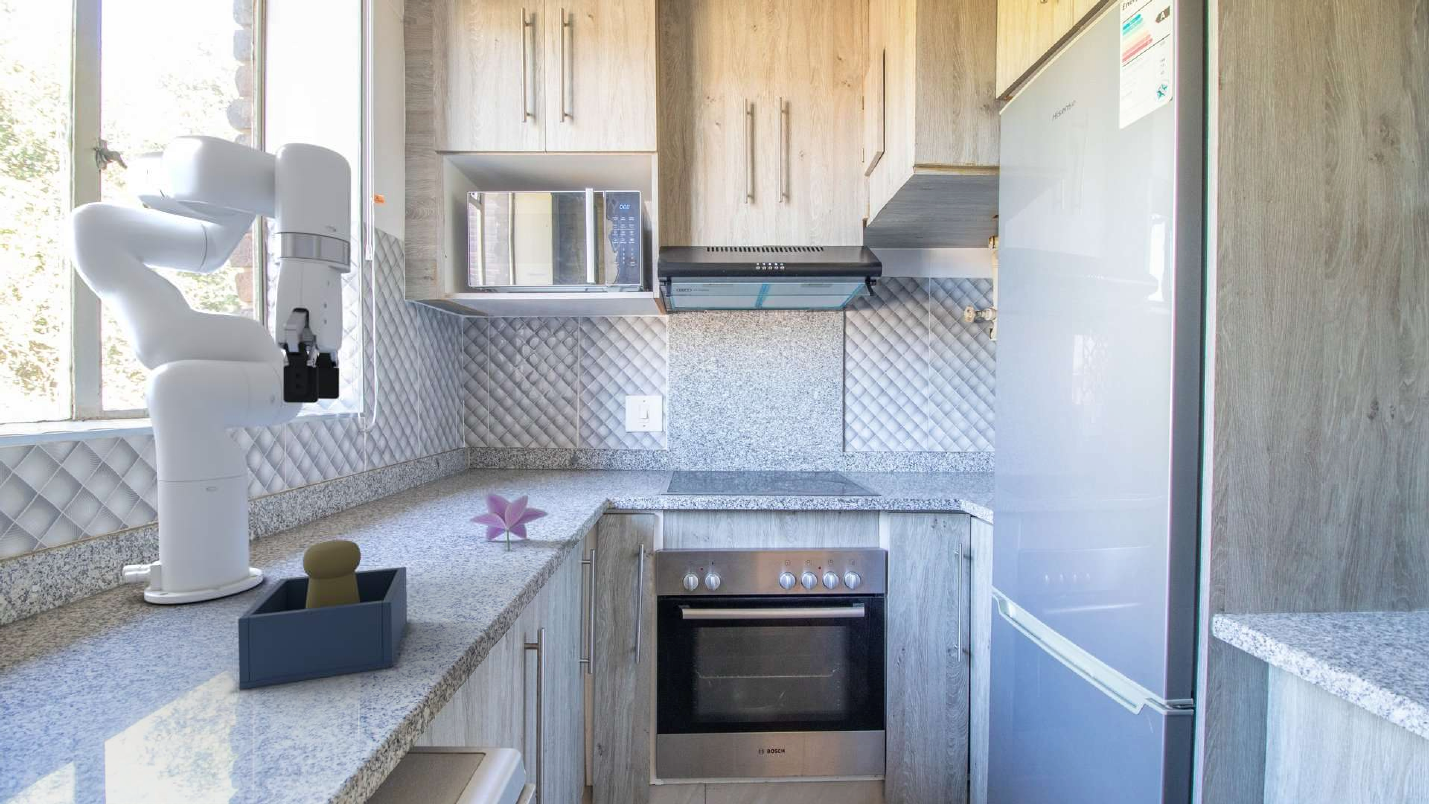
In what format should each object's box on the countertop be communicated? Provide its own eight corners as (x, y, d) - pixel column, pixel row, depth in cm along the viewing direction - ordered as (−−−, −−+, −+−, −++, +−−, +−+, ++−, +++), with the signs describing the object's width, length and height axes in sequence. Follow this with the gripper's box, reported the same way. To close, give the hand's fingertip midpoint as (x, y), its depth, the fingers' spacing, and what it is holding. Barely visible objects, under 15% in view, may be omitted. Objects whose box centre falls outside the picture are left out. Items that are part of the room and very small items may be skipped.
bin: (239, 689, 56) (237, 619, 56) (281, 637, 68) (280, 578, 68) (392, 667, 61) (391, 601, 60) (407, 621, 72) (406, 566, 72)
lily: (557, 547, 110) (550, 497, 113) (526, 536, 99) (519, 481, 103) (497, 565, 111) (492, 515, 115) (459, 557, 100) (455, 502, 104)
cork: (286, 650, 63) (284, 545, 63) (345, 629, 68) (343, 533, 68) (320, 663, 60) (318, 552, 60) (378, 640, 66) (377, 539, 65)
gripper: (298, 265, 79) (298, 397, 79) (247, 237, 62) (247, 403, 63) (364, 270, 81) (363, 398, 82) (331, 245, 65) (331, 404, 66)
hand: (313, 400), depth 72 cm, fingers open, 9 cm apart
